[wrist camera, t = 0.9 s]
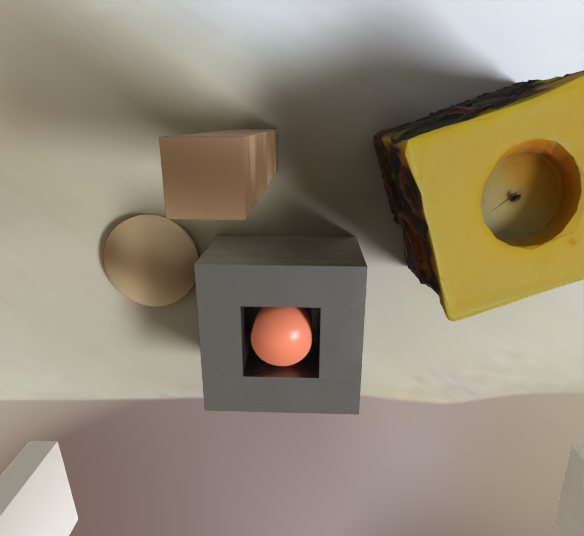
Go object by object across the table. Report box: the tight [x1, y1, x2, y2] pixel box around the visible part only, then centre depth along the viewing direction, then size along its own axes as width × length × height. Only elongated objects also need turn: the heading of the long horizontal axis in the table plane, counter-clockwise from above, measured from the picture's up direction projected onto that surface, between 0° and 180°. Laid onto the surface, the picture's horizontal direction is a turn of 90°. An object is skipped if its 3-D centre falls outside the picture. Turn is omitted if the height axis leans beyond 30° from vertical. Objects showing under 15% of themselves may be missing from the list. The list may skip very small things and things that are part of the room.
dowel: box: [159, 129, 278, 220], centre depth 23 cm, size 3×3×16 cm
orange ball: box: [251, 307, 312, 366], centre depth 30 cm, size 4×4×4 cm
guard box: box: [194, 235, 367, 414], centre depth 31 cm, size 10×10×7 cm
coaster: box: [103, 214, 199, 307], centre depth 33 cm, size 7×7×1 cm
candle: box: [374, 71, 584, 321], centre depth 26 cm, size 10×10×10 cm
